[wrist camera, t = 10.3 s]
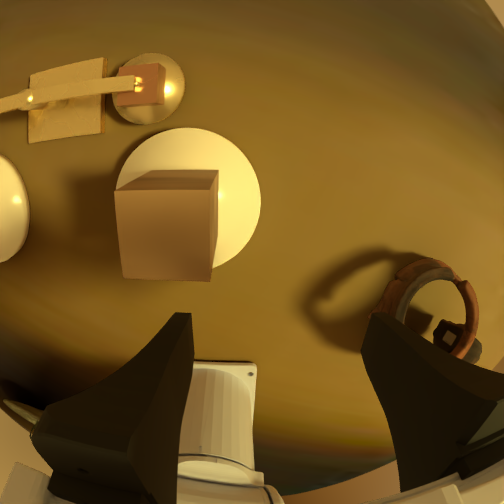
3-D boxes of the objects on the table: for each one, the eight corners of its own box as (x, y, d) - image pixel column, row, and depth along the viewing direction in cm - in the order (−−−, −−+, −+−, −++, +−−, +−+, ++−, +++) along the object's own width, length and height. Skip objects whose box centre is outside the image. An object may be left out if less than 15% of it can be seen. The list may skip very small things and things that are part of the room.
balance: (186, 127, 17) (161, 128, 11) (-12, 152, 16) (-67, 167, 11) (189, 50, 15) (167, 17, 10) (-12, 92, 14) (-67, 94, 9)
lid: (83, 409, 27) (70, 442, 22) (82, 444, 30) (72, 473, 26) (7, 368, 25) (-12, 396, 20) (17, 411, 28) (3, 436, 24)
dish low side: (256, 266, 21) (256, 273, 20) (126, 263, 20) (122, 269, 20) (263, 129, 18) (264, 129, 17) (118, 131, 17) (112, 131, 16)
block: (217, 235, 19) (210, 281, 13) (154, 233, 19) (123, 278, 13) (218, 169, 17) (209, 190, 12) (151, 170, 17) (114, 190, 12)
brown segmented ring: (332, 350, 25) (360, 373, 17) (369, 248, 26) (409, 229, 18) (437, 382, 24) (486, 405, 16) (468, 292, 25) (522, 288, 17)
